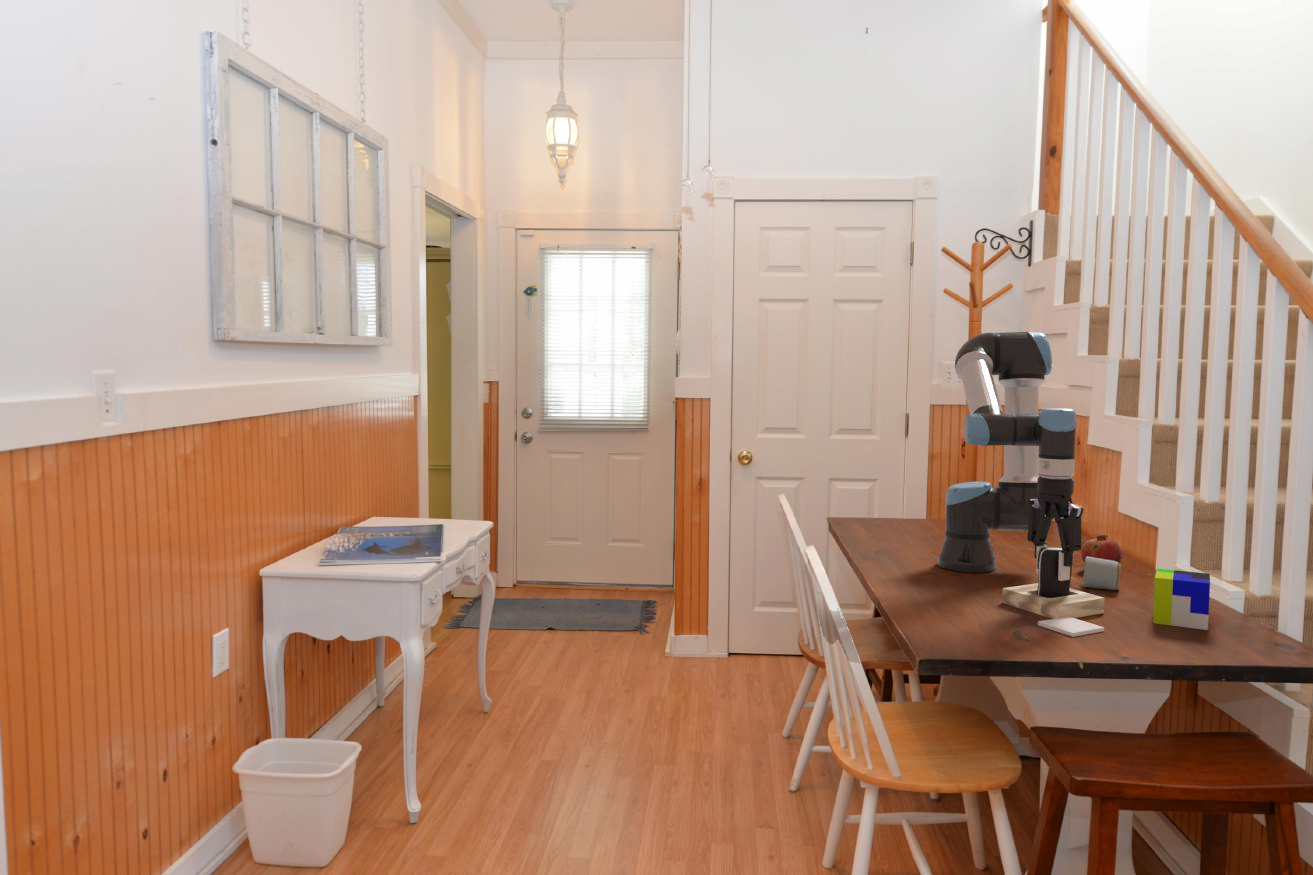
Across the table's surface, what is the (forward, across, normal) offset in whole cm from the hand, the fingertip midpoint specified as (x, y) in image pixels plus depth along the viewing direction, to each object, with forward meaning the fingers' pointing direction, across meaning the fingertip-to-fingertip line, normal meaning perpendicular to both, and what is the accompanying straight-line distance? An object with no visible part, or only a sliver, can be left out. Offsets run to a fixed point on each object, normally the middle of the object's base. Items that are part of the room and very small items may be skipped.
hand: (1052, 576), depth 200 cm
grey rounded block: (+8, -8, +26) cm, 28 cm away
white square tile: (+7, +13, -9) cm, 18 cm away
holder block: (+7, 0, 0) cm, 7 cm away
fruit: (+8, -20, +40) cm, 45 cm away
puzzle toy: (+7, +19, +17) cm, 27 cm away
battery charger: (+5, 0, 0) cm, 5 cm away
